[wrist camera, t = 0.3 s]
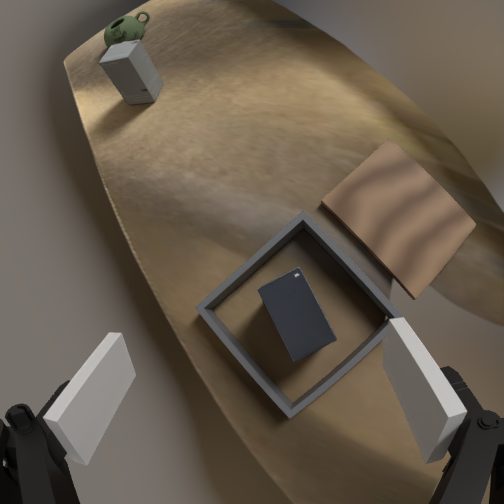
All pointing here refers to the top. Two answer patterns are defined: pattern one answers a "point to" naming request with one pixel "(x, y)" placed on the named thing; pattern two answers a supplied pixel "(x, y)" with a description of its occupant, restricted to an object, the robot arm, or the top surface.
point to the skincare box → (132, 72)
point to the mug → (125, 29)
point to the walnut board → (400, 216)
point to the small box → (297, 314)
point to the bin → (251, 267)
